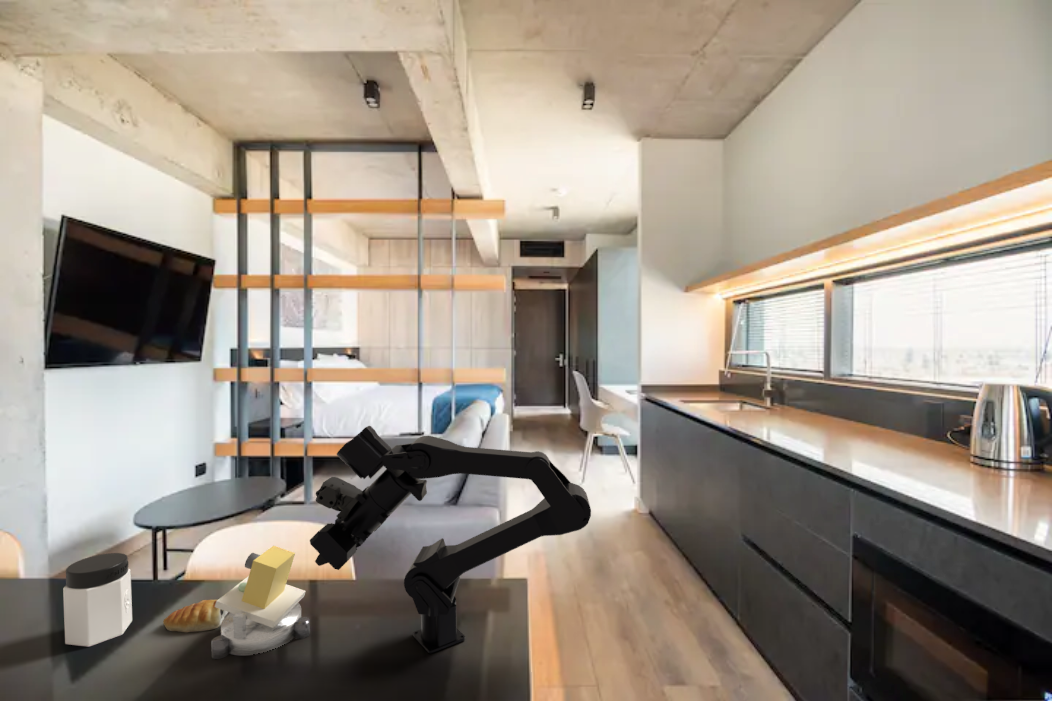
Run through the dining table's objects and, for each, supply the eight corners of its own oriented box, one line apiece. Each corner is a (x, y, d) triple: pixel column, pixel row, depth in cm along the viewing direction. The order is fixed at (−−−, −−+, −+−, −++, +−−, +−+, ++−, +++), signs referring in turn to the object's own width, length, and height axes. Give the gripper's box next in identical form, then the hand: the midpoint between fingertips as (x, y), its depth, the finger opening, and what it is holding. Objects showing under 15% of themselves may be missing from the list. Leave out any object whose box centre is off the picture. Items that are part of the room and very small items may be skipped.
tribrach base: (327, 612, 95) (327, 576, 95) (286, 661, 81) (285, 619, 81) (252, 610, 96) (251, 575, 96) (199, 658, 82) (198, 617, 82)
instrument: (304, 598, 93) (317, 553, 93) (271, 631, 83) (286, 581, 82) (251, 579, 94) (264, 534, 94) (212, 610, 83) (227, 560, 83)
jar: (119, 642, 87) (116, 569, 86) (57, 652, 84) (54, 578, 83) (138, 614, 95) (135, 548, 95) (82, 623, 92) (79, 555, 92)
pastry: (157, 639, 88) (156, 616, 88) (172, 618, 94) (171, 597, 94) (220, 630, 90) (220, 608, 90) (231, 610, 97) (230, 590, 97)
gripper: (368, 450, 96) (310, 509, 97) (322, 478, 77) (250, 551, 78) (411, 493, 96) (353, 552, 97) (375, 533, 77) (303, 605, 78)
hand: (317, 563), depth 88 cm, fingers closed
